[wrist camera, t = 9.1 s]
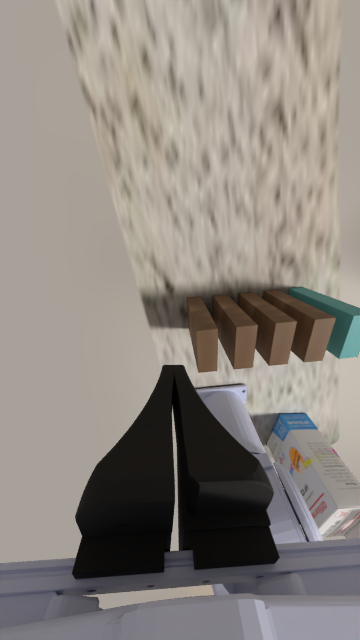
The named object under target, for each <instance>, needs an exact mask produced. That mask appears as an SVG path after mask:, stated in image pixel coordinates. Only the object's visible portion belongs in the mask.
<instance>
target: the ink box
mask: <svg viewBox="0 0 360 640" xmlns="http://www.w3.org/2000/svg"><path fill="white" fill-rule="evenodd" d="M267 445H268V447H269V449H270V452H271V454H272V456H273V458H274V460H275V462H279V463H280V464H281V465H283V466H285V467H286V468H287V469H288V471H289V472H290V474H291V476H292V478H293V480H294V481H295V483H296V485H297V487H298V489H299V491H300V493H301V495H302V497H303V499H304V501H305V503H306V505H307V507H308V509H309V511H310V513H311V515H312V517H313V519H314V521H315V523H316V525H317V527H318V530H319V532H320V534H321V536H322V537H334V536H345V537H346V539H354V538H360V483H359V482H358V480H357V479H356V478H355V476H354V475H353V474H352V473H351V471H350V470H349V469H348V467H347V466H346V465H345V463H344V462H343V461H342V460H341V458H340V457H339V456H338V454H337V453H336V452H335V450H334V449H333V448H332V447H331V445H330V444H329V443H328V441H327V440H326V439H325V437H324V436H323V435H322V434H321V432H320V431H319V430H318V428H317V427H316V426H315V424H314V423H313V422H312V421H311V419H310V418H309V417H308V415H307V414H306V413H301V414H279V417H278V420H277V422H276V424H275V426H274V429H273V431H272V433H271V435H270V437H269V440H268V442H267Z"/></svg>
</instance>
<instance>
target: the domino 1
mask: <svg viewBox="0 0 360 640" xmlns="http://www.w3.org/2000/svg"><path fill="white" fill-rule="evenodd" d="M187 306H188V322H189V331H190V336H191V341H192V345H193V350H194V355H195V359H196V364H197V369H198V373H200V372H210V371H217V356H218V328H217V326H216V324H215V323H214V321H213V319H212V317H211V315H210V313H209V311H208V309H207V307H206V306H205V304H204V302H203V300H202V298H201V297H192V298H187Z"/></svg>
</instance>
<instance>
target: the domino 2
mask: <svg viewBox="0 0 360 640" xmlns="http://www.w3.org/2000/svg"><path fill="white" fill-rule="evenodd" d="M213 321H214V323H215V324H216V326H217V328H218V338H219V340H220V342H221V344H222V346H223V348H224V350H225V352H226V354H227V356H228V358H229V360H230V362H231V364H232V366H233V368H234V369H241V368H251V367H253V361H254V353H255V344H256V336H257V328H258V325H257V324H256V323H255V322H254V321H253V320H252V319H251V318H250V317H249V316H248V315H247V314H246V313H245V312H244V311H243V310H242V309H241V308H240V307H239V306H238V305H237V304H236V303H235V302H234V301H233V300H232V299H231V298H230V297H229V296H228V295H227V294H225V295H214V296H213Z"/></svg>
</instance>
